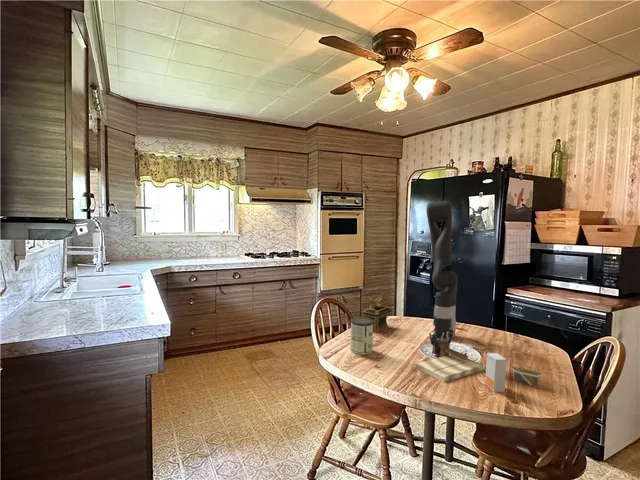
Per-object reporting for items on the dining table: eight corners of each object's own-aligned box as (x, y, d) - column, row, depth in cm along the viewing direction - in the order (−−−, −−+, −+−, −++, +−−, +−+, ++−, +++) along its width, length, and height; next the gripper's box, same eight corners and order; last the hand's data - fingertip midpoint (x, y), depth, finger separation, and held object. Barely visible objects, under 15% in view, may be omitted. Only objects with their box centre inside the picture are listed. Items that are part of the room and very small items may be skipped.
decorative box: (377, 333, 187) (378, 297, 186) (361, 329, 193) (362, 294, 192) (394, 325, 203) (396, 291, 202) (379, 322, 209) (381, 289, 208)
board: (454, 357, 157) (454, 353, 157) (483, 369, 145) (483, 364, 145) (415, 368, 145) (416, 363, 145) (443, 382, 133) (444, 376, 133)
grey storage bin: (553, 397, 124) (555, 379, 124) (496, 383, 134) (497, 366, 134) (553, 385, 134) (554, 368, 134) (500, 372, 144) (501, 356, 144)
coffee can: (352, 345, 169) (353, 316, 169) (374, 348, 166) (375, 318, 165) (347, 352, 160) (348, 321, 159) (370, 356, 156) (371, 324, 156)
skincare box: (484, 384, 132) (486, 353, 132) (495, 384, 133) (497, 352, 132) (493, 392, 126) (495, 359, 125) (505, 392, 127) (507, 359, 126)
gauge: (436, 350, 162) (437, 338, 162) (469, 364, 148) (469, 350, 148) (430, 352, 160) (431, 339, 160) (463, 366, 146) (463, 351, 146)
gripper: (446, 311, 164) (444, 348, 165) (424, 315, 157) (423, 353, 158) (460, 315, 158) (458, 353, 159) (438, 319, 150) (436, 359, 151)
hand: (440, 353), depth 158 cm, fingers closed on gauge, 4 cm apart
